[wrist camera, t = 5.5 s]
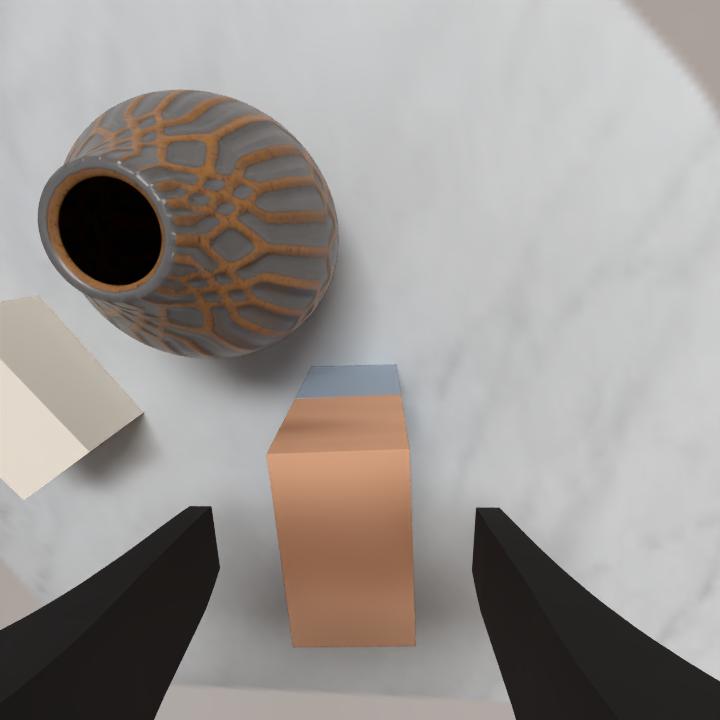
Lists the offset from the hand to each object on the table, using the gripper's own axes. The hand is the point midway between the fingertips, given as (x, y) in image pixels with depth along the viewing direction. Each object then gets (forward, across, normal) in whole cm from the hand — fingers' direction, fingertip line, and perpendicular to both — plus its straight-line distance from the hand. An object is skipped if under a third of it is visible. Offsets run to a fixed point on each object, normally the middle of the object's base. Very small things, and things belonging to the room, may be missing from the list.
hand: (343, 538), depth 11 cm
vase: (+7, +4, -8) cm, 11 cm away
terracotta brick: (+3, 0, 0) cm, 3 cm away
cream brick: (+7, +12, -2) cm, 14 cm away
